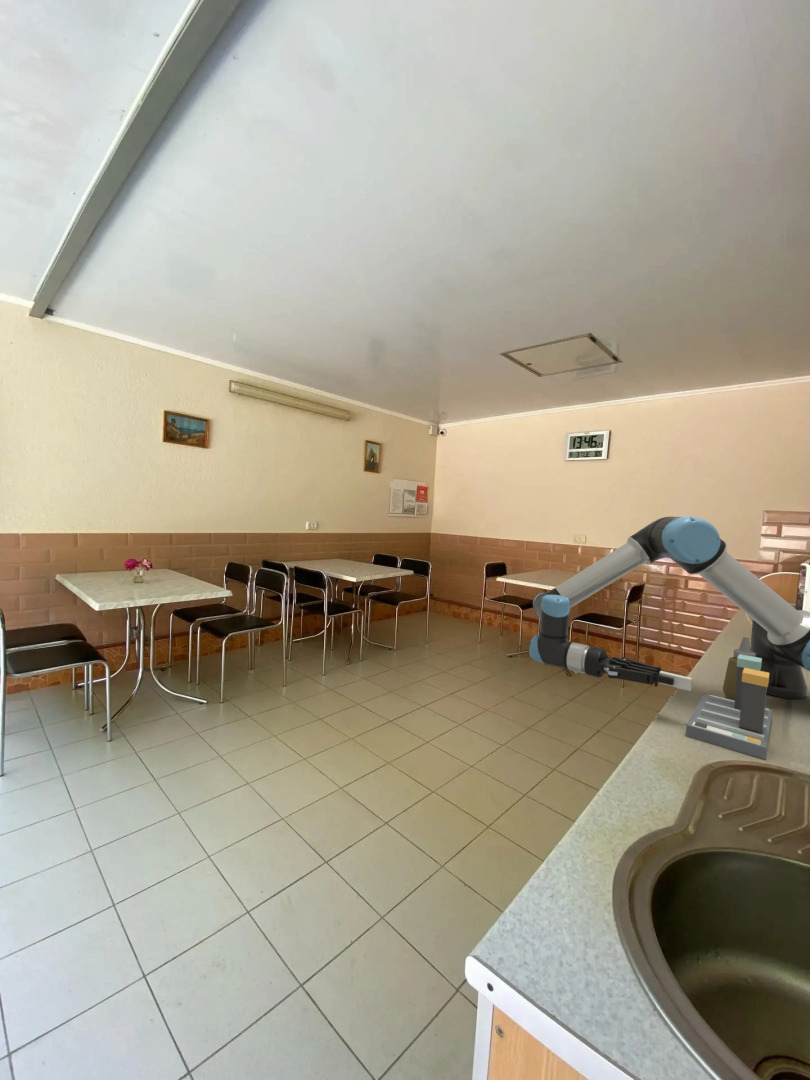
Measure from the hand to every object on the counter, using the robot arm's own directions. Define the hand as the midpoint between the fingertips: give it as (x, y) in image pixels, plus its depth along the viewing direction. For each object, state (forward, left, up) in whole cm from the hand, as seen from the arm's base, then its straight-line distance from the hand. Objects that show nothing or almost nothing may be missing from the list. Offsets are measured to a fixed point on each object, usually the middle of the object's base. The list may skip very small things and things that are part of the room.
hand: (690, 684), depth 106 cm
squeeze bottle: (-24, -7, -10) cm, 27 cm away
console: (-10, +3, -10) cm, 14 cm away
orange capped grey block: (-7, +9, -7) cm, 14 cm away
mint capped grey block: (-16, +1, -7) cm, 17 cm away
